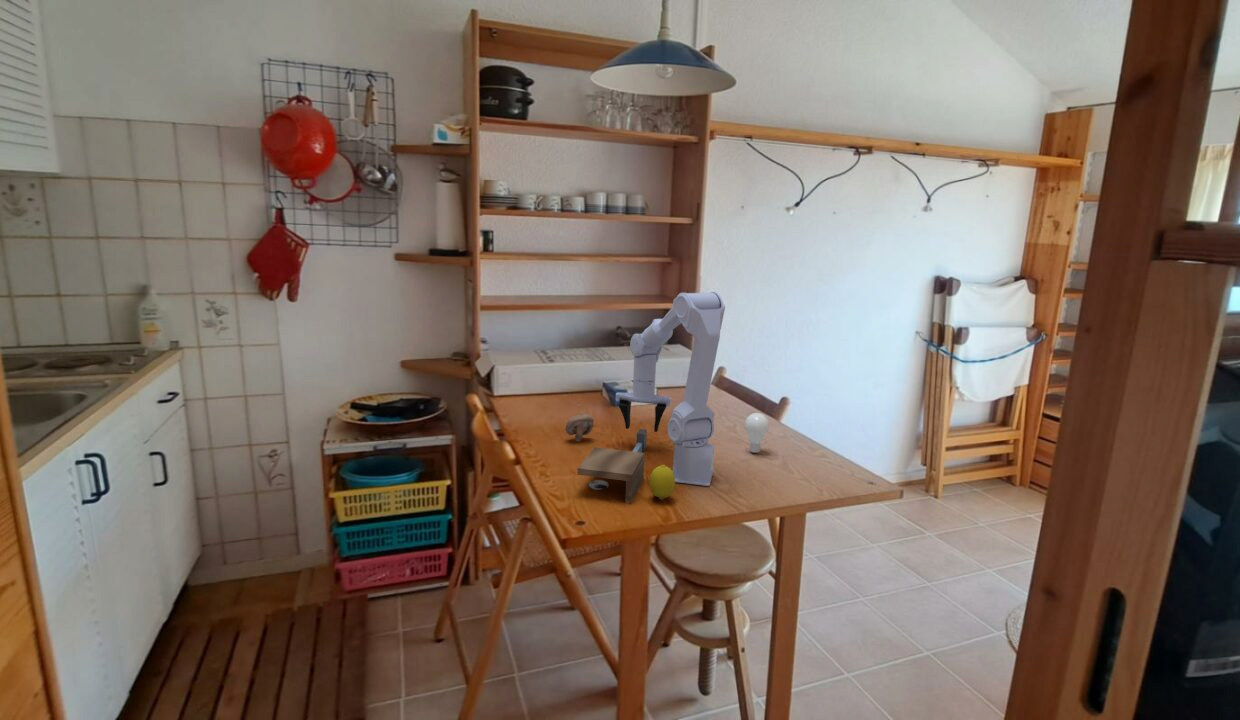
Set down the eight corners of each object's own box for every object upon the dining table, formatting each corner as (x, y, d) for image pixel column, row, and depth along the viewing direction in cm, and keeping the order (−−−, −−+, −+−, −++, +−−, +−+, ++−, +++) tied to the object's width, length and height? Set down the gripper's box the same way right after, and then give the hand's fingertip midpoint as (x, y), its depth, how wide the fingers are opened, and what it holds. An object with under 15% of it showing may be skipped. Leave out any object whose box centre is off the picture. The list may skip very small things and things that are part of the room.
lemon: (644, 495, 141) (646, 461, 140) (667, 493, 143) (669, 459, 142) (655, 506, 136) (656, 470, 135) (678, 503, 138) (680, 468, 136)
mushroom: (563, 444, 173) (564, 415, 171) (567, 436, 179) (567, 409, 177) (591, 445, 172) (592, 417, 170) (594, 438, 178) (595, 410, 176)
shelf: (643, 479, 151) (644, 452, 149) (630, 503, 137) (632, 474, 136) (594, 473, 153) (594, 447, 152) (577, 496, 140) (577, 468, 138)
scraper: (646, 447, 172) (647, 429, 171) (630, 474, 153) (631, 454, 152) (639, 446, 173) (639, 428, 172) (622, 473, 154) (623, 453, 153)
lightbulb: (769, 457, 168) (773, 417, 166) (746, 457, 168) (749, 416, 165) (762, 448, 174) (766, 410, 172) (739, 448, 174) (742, 409, 172)
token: (610, 484, 147) (610, 481, 147) (605, 492, 143) (605, 488, 143) (591, 482, 148) (592, 479, 148) (586, 489, 144) (586, 486, 144)
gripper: (674, 378, 169) (671, 427, 172) (620, 373, 172) (618, 422, 175) (670, 384, 162) (667, 435, 165) (614, 379, 165) (612, 429, 168)
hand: (641, 429), depth 170 cm, fingers open, 7 cm apart
